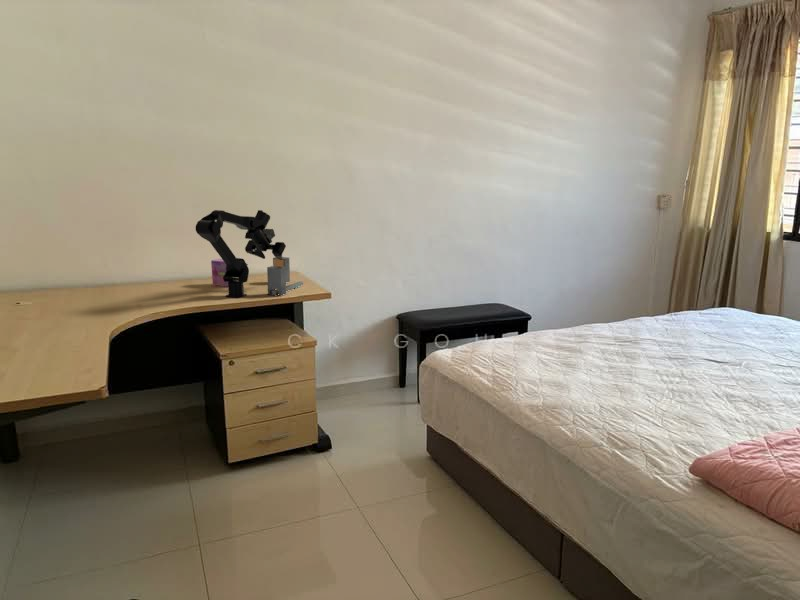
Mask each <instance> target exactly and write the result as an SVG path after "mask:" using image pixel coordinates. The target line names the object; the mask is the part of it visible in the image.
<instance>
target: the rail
mask: <svg viewBox="0 0 800 600" xmlns="http://www.w3.org/2000/svg"><path fill="white" fill-rule="evenodd" d="M301 285H303V286H304V282H303V281H297V282H296V281H295V282H294V283H292V284H288V285H286V291H288V290H291V289H294V288H296V287H298V286H301ZM294 290H295V289H294ZM291 291H292V290H291ZM288 292H289V291H288ZM278 294H279V289H275V290H273V291H272V295H278ZM272 295H271V296H272ZM278 296H279V295H278Z"/></svg>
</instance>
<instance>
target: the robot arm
mask: <svg viewBox="0 0 800 600" xmlns="http://www.w3.org/2000/svg"><path fill="white" fill-rule="evenodd" d="M270 219H271V216H270V214H268V213H267V212H265V211H263V210H261V209H258V210H257V212H256V214H255V216H249V215H248V216H244V215H237V214H233V213H231V212H228V211H225V210H221V209H214V210H213V211H211V212H210V213H208V214H207V215H206V216H203V217H202V218H201V219H200V220H198V221H197V222H196V225H195V232H196V233H197V235H198V236H200V237H201V238H202V239H204V240H205V241H207V242H209V243H210V244H211V246H212V248H213V249H214V250H215V251H216V253H217V254H218V255H219V257H220V259H223V261H224V262H225V264H226V273H225V275H224V276H223V280H224V282H229V283H228V287H227V290H228V294H227V295H225V297H226V298H235V299H238V298H242V297H245V296H247V293H245V290H244V289H245V288H244V284H245V283H248V279H249V274H250V273H249V272H250V270H249V267H248V265H249V264H248V263H247V262H246V260H245V259H244V258H240V257H236V255H235V254H234V252H233V251H232V250H231V248H230V247H229V246H228V244H227V243H226V241H225V240H224V239H223V237H222V234H221V231H222V230H221V229H222V228H223V226H224V223H227V224H231V225H235V226H236V227H237V228H238V229H240V230H245V231H246V230H247V231H246V232H245V236H244V238H245V239H247V240H248V241H247V244H246V245H245V247H244V250H245V252H246V254H250V255H252V256H255V257H259V258H260V259H263V260H265V259H266V255H265V254H264V252H267V251H268V250H271V253H272V255H273V257H276V258H278V259H279V260H282V257H283V253H284V251H285V249H286V247H287V246H286V244H285V242H282V241H276V242H275V243H274V244H272V243H273V240H272V239H273V238H275V237H276V234H275V230H274V229H273V228H266V227H267V226H268V224H269V221H270ZM233 277H237V278H233Z"/></svg>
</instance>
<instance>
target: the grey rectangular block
mask: <svg viewBox="0 0 800 600" xmlns="http://www.w3.org/2000/svg"><path fill="white" fill-rule="evenodd" d="M272 266H279V267H285V275H286V282H289V281H290V282H291V279H290V278H291V276H290V274H291V273H290V270H291V269H290V257H286V256H285V257H284V256H282V260H279V259H278V258H276V257H275V256H273V257H272Z"/></svg>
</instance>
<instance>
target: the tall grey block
mask: <svg viewBox="0 0 800 600" xmlns="http://www.w3.org/2000/svg"><path fill="white" fill-rule="evenodd" d="M266 270H267V271H266V273H267V276H266V277H267V295H268V294H270V295H269V296H272V295H271V294H272V291H273V290H276V289H279V295H283V294H286V295H287V292H286V286H287V284H286V275H285V267H279V266H273V265H271V266H267V267H266ZM279 295H278V296H279ZM283 296H284V295H283Z"/></svg>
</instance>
